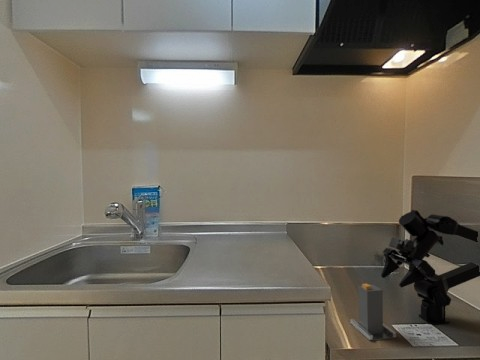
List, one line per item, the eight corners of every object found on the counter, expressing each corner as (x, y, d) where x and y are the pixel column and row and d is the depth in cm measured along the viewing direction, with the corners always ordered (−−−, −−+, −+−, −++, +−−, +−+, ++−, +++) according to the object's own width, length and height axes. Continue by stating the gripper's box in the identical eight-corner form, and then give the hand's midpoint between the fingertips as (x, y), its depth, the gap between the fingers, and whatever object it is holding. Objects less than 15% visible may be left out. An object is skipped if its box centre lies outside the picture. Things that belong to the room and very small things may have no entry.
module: (373, 325, 102) (372, 281, 102) (382, 332, 98) (382, 286, 97) (358, 326, 102) (358, 282, 101) (367, 334, 97) (367, 288, 96)
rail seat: (374, 321, 106) (374, 316, 106) (396, 337, 95) (396, 332, 95) (350, 323, 104) (350, 319, 104) (369, 340, 94) (369, 335, 94)
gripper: (387, 224, 114) (358, 257, 112) (426, 234, 95) (392, 274, 94) (407, 245, 115) (379, 278, 113) (450, 259, 97) (417, 298, 95)
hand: (390, 281), depth 104 cm, fingers open, 9 cm apart
